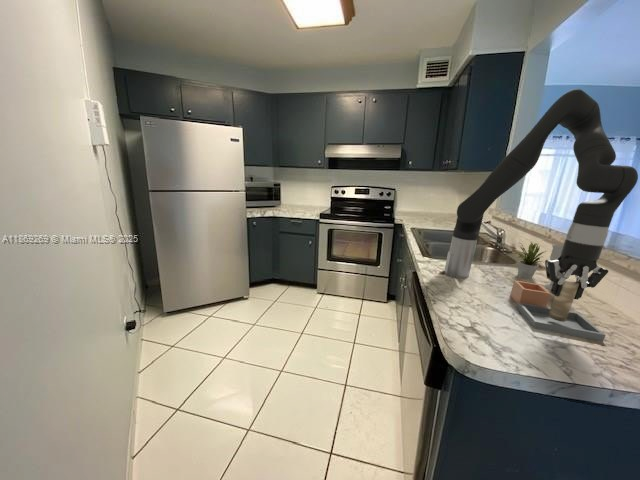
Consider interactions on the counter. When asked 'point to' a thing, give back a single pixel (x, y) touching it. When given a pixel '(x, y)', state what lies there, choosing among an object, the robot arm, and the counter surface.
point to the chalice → (554, 256)
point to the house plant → (529, 261)
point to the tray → (571, 326)
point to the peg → (563, 301)
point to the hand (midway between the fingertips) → (564, 296)
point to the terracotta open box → (529, 293)
